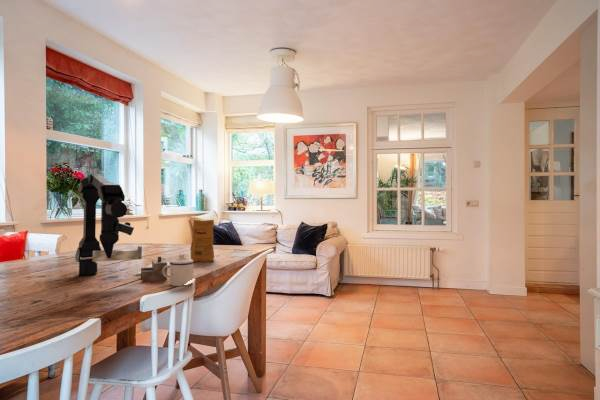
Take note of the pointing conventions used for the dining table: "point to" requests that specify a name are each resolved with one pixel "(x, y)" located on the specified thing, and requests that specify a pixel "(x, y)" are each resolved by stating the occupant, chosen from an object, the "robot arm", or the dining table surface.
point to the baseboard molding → (149, 266)
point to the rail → (118, 255)
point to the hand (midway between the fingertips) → (109, 257)
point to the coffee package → (202, 241)
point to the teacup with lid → (180, 270)
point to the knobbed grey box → (154, 271)
